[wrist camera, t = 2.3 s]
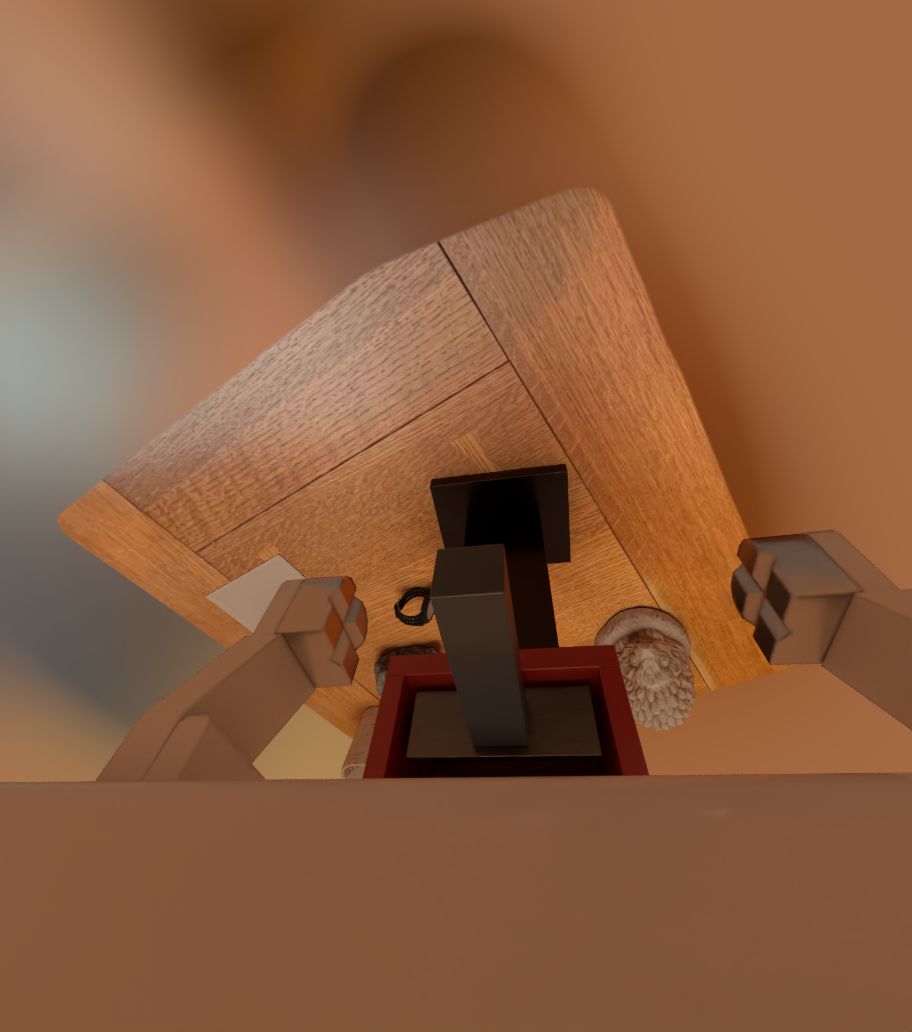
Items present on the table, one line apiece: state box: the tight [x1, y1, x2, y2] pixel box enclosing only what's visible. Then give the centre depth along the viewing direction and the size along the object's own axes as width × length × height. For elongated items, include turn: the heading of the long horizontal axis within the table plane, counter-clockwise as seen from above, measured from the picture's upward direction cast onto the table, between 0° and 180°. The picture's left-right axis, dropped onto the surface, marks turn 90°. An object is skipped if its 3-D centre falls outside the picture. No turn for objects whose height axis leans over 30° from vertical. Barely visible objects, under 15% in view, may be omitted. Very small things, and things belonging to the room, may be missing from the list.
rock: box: [374, 646, 438, 696], centre depth 63 cm, size 12×10×5 cm
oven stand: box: [362, 464, 649, 779], centre depth 35 cm, size 12×14×34 cm
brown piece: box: [406, 544, 602, 771], centre depth 24 cm, size 21×10×4 cm, turn 10°
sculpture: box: [595, 608, 695, 730], centre depth 56 cm, size 12×17×10 cm
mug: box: [341, 707, 379, 779], centre depth 71 cm, size 8×13×10 cm, turn 92°
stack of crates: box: [205, 555, 306, 632], centre depth 58 cm, size 15×15×7 cm
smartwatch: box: [394, 587, 434, 626], centre depth 55 cm, size 4×5×5 cm
